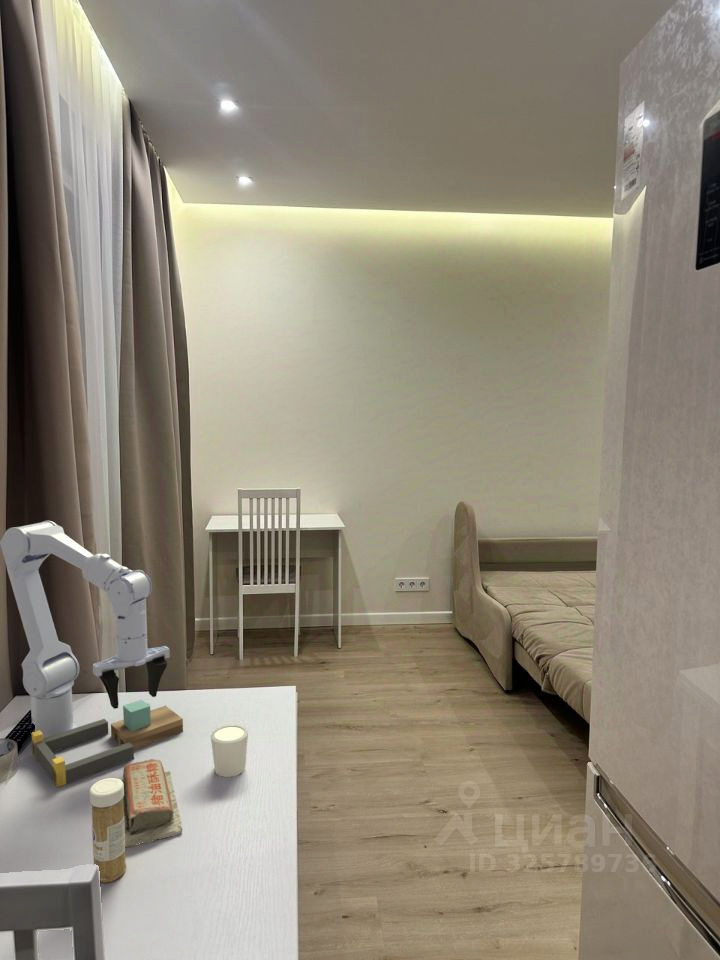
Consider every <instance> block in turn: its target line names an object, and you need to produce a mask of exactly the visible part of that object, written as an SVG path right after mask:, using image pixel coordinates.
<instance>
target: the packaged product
mask: <svg viewBox="0 0 720 960" xmlns="http://www.w3.org/2000/svg"><path fill="white" fill-rule="evenodd" d="M171 775H172V774H171V771H170V770H168V771H165V770H164V766H163V763H162V761H161V760H159V759H154V758H152V759H151V758H150V759H148V760H147V759H146V760H143V761H136V762H133V763H132V762H131V763H128V764H126V765H124V768H123V773H122V779H120V780H121V781H122V782H123V784H124V796H123V810H124V824H125V847H127V848H129V847H128V846H131V847H134V846H133V845H135V846H137V845H136V844H139V843H142V842H148V841H152V840H155V841H157V840H156V839H159V840H163V839H166V837H167V838H171V837H170V836H173V837H175V836H174V835H176V836H178V835H177V834H179V835H181V834H180V833H182V834H183V824H182V820H181V815H180V811H179V807H178V802H177V797H176V794H175V788H174V784H173V780H172V776H171ZM162 838H163V839H162ZM152 842H153V841H152ZM148 843H149V842H148ZM139 845H140V844H139Z"/></svg>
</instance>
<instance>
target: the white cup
mask: <svg viewBox="0 0 720 960" xmlns="http://www.w3.org/2000/svg"><path fill="white" fill-rule="evenodd" d="M248 737H249V732H248V729H247V728H246V727H244V726H241V725H237V724H230V725H229V724H228V725H224V726H220V727H217V728H216V729H213V731H212V732H211V734H210V742H211V749H212V757H213V758H212V760H213V765H214V771H215V774H216V775H217V774H218V775H217V776H219V775H220V777H222V776H223V777H222V778H231V776H233V777H237V776H238V774H239V775H240V773H241V772H242V773H244V771H245V770H244V769H246V764H247V763H246V762H247V751H248V741H249V740H248ZM242 773H241V774H242ZM236 775H237V776H236Z"/></svg>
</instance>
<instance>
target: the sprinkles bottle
mask: <svg viewBox="0 0 720 960" xmlns="http://www.w3.org/2000/svg"><path fill="white" fill-rule="evenodd" d="M121 780H122V779H120V778H116V777H108V778H104V779H101V780H98V781H96V782H95V783H94V784H93V785H92V786H91V787H90V789H89V803H90V805H91V821H92V825H91V829H92V856H93V865H94V864H96V865H98V866H99V871H100V881H101V882H100V883H111V882H113V881H115V880H117V879H119V878H120V877H122V876H123V875H124V873H126V870H127V862H126V848H125V824H124V810H123V796H124V784H123V782H122V781H121Z"/></svg>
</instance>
